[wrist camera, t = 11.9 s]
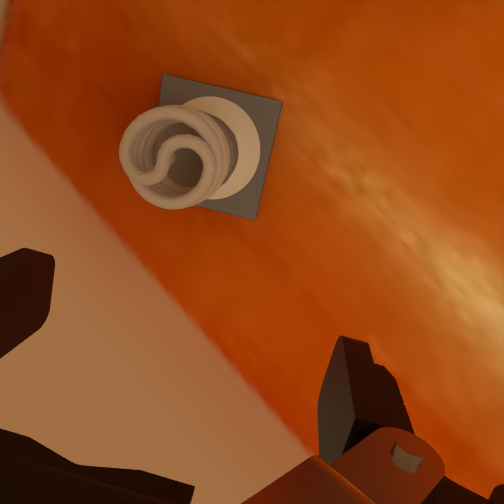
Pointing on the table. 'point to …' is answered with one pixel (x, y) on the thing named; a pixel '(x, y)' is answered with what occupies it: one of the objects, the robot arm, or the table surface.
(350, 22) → the table surface
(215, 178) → the light bulb
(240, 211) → the pad
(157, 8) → the table surface
